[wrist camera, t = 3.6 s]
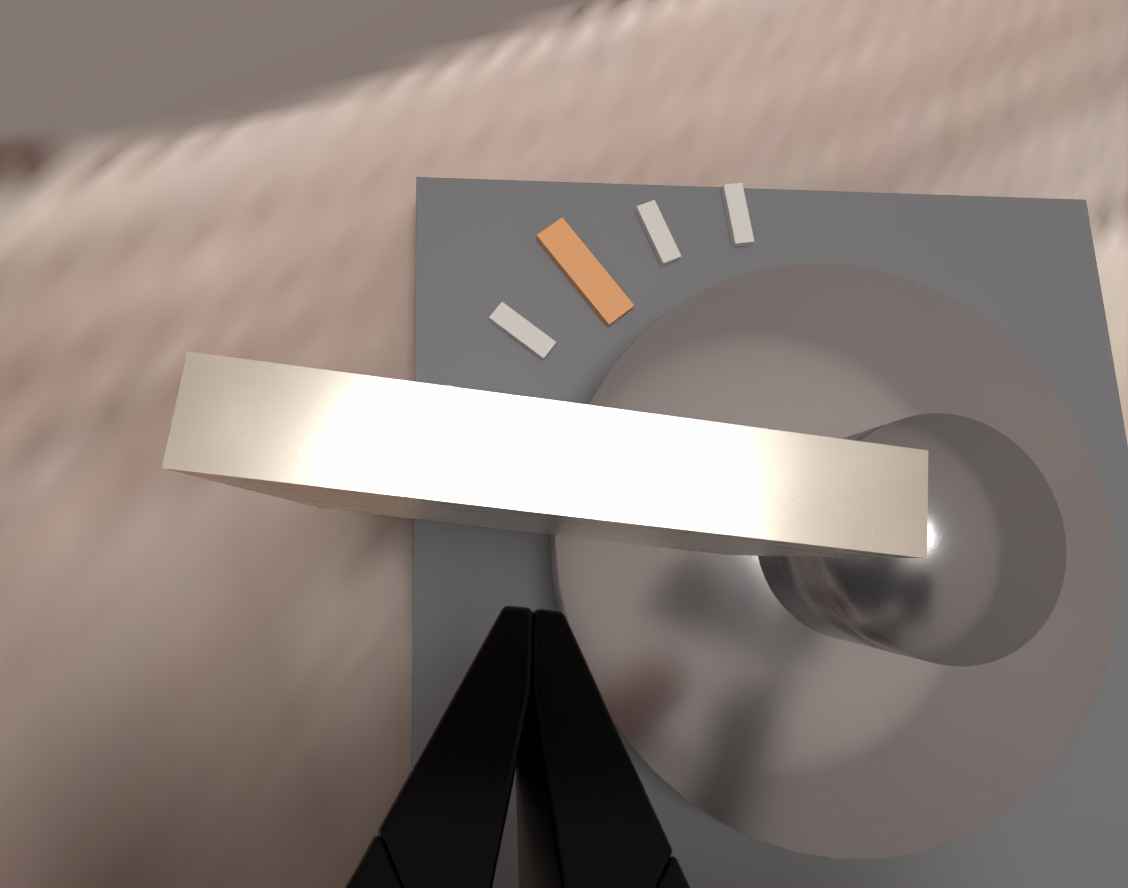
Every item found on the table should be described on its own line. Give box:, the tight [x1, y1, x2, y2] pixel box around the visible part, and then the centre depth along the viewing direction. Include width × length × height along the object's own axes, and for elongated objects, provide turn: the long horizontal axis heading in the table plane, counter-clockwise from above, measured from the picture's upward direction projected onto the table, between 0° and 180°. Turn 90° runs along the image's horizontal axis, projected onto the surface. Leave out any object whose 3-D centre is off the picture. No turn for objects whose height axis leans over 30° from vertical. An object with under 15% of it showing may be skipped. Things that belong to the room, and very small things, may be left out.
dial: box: [162, 263, 1117, 859], centre depth 11 cm, size 16×12×8 cm
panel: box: [412, 177, 1128, 888], centre depth 16 cm, size 18×18×1 cm
